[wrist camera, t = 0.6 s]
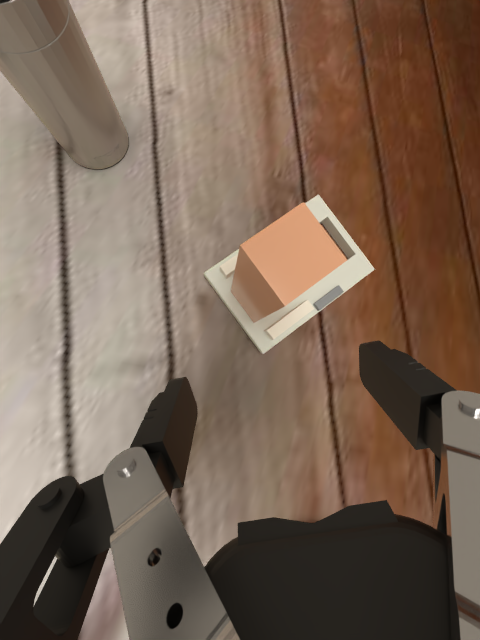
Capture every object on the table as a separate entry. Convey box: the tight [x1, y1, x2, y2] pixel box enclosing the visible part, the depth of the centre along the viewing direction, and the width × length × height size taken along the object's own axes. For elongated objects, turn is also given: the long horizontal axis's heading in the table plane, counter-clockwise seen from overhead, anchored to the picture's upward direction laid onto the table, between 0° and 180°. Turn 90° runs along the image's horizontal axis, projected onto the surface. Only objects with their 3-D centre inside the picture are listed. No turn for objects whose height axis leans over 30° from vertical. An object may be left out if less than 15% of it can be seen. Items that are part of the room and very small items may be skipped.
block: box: [231, 202, 347, 323], centre depth 25 cm, size 6×6×16 cm
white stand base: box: [204, 195, 374, 354], centre depth 34 cm, size 14×21×4 cm, turn 126°
